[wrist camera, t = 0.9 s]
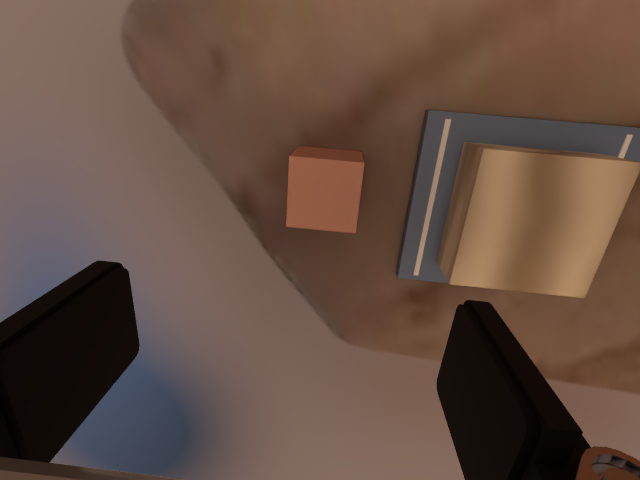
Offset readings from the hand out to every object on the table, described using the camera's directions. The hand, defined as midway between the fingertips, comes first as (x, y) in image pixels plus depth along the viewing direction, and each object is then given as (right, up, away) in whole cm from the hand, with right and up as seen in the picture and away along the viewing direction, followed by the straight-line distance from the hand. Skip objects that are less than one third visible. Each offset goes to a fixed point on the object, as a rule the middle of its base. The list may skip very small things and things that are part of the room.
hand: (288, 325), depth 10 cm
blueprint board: (+16, +5, +19) cm, 25 cm away
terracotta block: (+2, +8, +19) cm, 20 cm away
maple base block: (+16, +5, +18) cm, 24 cm away
